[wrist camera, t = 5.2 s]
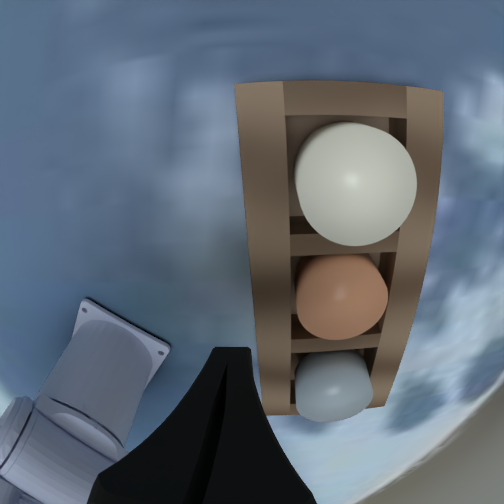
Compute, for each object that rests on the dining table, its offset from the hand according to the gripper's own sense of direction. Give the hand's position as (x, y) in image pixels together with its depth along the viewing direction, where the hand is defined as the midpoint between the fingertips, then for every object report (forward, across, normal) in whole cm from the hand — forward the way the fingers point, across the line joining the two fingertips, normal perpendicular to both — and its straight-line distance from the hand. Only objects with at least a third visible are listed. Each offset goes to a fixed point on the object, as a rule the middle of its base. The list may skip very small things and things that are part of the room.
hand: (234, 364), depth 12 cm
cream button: (+7, -5, -5) cm, 10 cm away
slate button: (+7, -5, +9) cm, 12 cm away
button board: (+9, -5, +2) cm, 11 cm away
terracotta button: (+8, -5, +2) cm, 10 cm away
